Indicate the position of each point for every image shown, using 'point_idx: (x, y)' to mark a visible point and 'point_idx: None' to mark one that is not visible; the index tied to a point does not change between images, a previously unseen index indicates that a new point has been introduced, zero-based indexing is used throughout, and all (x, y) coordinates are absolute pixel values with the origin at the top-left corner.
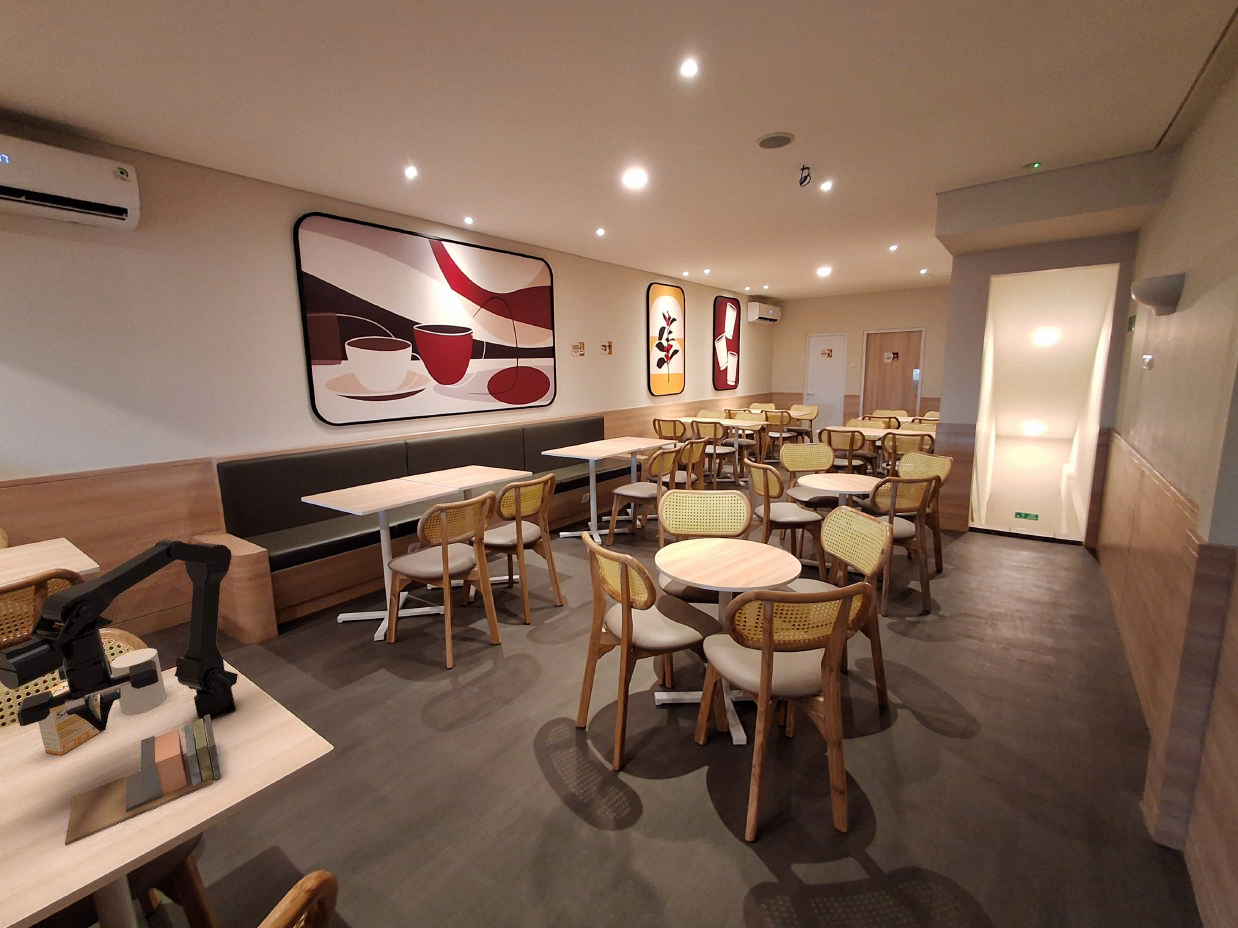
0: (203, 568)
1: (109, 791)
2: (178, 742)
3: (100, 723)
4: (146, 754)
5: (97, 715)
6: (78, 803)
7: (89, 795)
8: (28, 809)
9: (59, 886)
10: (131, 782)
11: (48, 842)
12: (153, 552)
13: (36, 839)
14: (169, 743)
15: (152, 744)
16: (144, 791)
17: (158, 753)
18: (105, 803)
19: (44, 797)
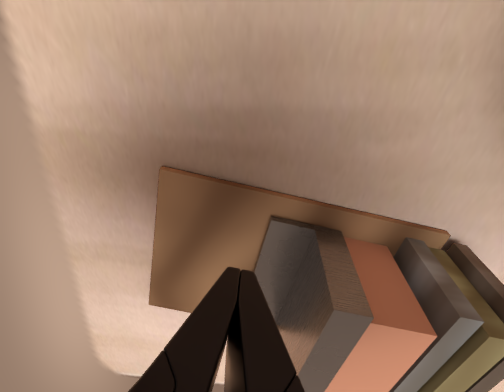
0: None
1: (229, 224)
2: (388, 388)
3: (225, 344)
4: (310, 376)
5: (212, 384)
6: (170, 210)
7: (192, 199)
8: (65, 111)
9: (146, 361)
10: (271, 250)
11: (125, 271)
12: None
13: (104, 246)
14: (373, 375)
15: (343, 351)
16: (279, 299)
17: (332, 390)
18: (216, 257)
19: (95, 84)
